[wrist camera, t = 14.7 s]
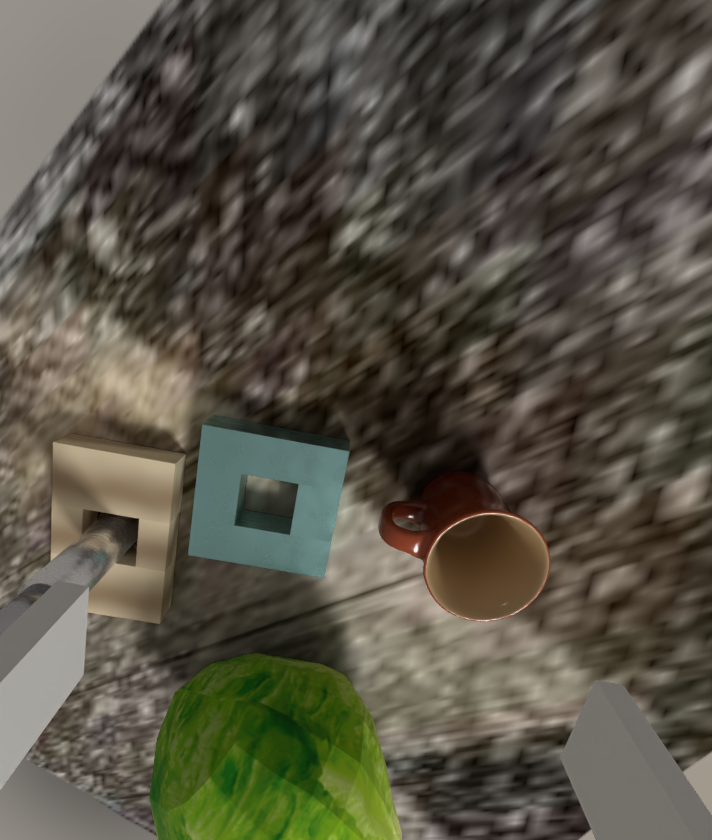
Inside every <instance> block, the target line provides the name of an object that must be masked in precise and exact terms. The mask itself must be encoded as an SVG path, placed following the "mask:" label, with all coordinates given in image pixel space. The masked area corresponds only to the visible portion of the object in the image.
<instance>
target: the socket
mask: <svg viewBox="0 0 712 840" xmlns="http://www.w3.org/2000/svg"><path fill="white" fill-rule="evenodd" d="M349 449H350V440H345V439H339V438H334V437H329V436H323V435H318V434H312V433H307V432H302V431H296V430H291V429H285V428H280V427H275V426H269V425H264V424H258V423H253V422H247V421H242V420H237V419H231V418H226V417H220V416H215V415H213V416H212V417H211V418H210V419H208V420H207V421H206V422H205V423H204V424H202V431H201V440H200V449H199V458H198V468H197V477H196V486H195V495H194V504H193V513H192V522H191V532H190V541H189V550H188V555H190V556H196V557H202V558H208V559H214V560H220V561H226V562H232V563H238V564H244V565H250V566H256V567H262V568H268V569H274V570H280V571H286V572H292V573H297V574H303V575H309V576H315V577H321V578H324V575H325V570H326V565H327V560H328V555H329V550H330V545H331V540H332V535H333V530H334V525H335V521H336V516H337V511H338V506H339V501H340V496H341V491H342V486H343V481H344V476H345V471H346V466H347V461H348V456H349ZM248 475H251V476H257V477H262V478H268V479H273V480H279V481H285V482H290V483H296V484H299V485H298V491H297V497H296V503H295V508H294V514H293V518H289V517H283V516H277V515H272V514H266V513H260V512H254V511H249V510H243V504H244V497H245V490H246V483H247V476H248Z"/></svg>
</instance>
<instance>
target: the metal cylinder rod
mask: <svg viewBox="0 0 712 840" xmlns="http://www.w3.org/2000/svg"><path fill="white" fill-rule="evenodd" d="M138 528H139V518H133V517H127V516H121V515H115V514H109V513H107V514H106V515H104V516H103V517H102V518H101V519H100V520H99V521H97V522H96V523H95V524H94V525H93V526H92V527H90V528H89V529H88V530H87V531H86V532H85V533H83V534H82V535H81V536H80V537H79V538H78V539H76V540H75V541H74V542H73V543H72V544H71V545H69V546H68V547H67V548H66V549H65V550H63V551H62V552H61V553H60V554H59V555H58V556H56V557H55V558H54V559H53V560H52V561H51V562H49V563H48V564H47V565H46V566H45V567H44V568H42V569H41V570H40V571H39V572H38V573H37V574H35V575H34V576H33V577H32V578H31V579H30V580H28V581H27V582H26V583H25V584H24V585H23V586H22V587H21V588H20V589H19V591H18V595H17V597H16V598H14V599H13V600H12V601H11V602H10V603H9V604H8V605H6V606H5V607H4V608H3V609H2V610H1V611H0V635H1V634H2V633H3V632H4V631H5V630H6V629H7V628H8V627H9V626H10V625H11V624H12V623H14V622H15V621H16V620H17V619H18V618H19V617H20V616H21V615H22V614H23V613H24V612H25V611H26V610H27V609H28V608H29V607H30V606H31V605H32V604H33V603H35V602H36V601H37V600H38V599H39V598H40V597H41V596H42V595H43V594H44V593H45V592H46V591H47V590H48V589H49V588H50V587H51V586H52V585H53V584H55V583H56V582H57V581H62V582H68V583H73V584H79V585H84V586H89V592H90V591H91V590H92V589H93V588H94V586H95V585H96V584H97V583H98V582H99V581H100V580H101V579H102V578H103V577H104V576H105V574H106V573H107V572H108V571H109V570H110V569H111V568H112V567H113V566H114V565H115V563H116V562H117V561H118V560H119V559H120V558H121V557H122V556H123V555H124V554H125V553H126V551H127V550H128V549H129V548H130V547H131V546H132V545H133V544H134V543H135V542H136V541H137V539H138Z"/></svg>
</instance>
